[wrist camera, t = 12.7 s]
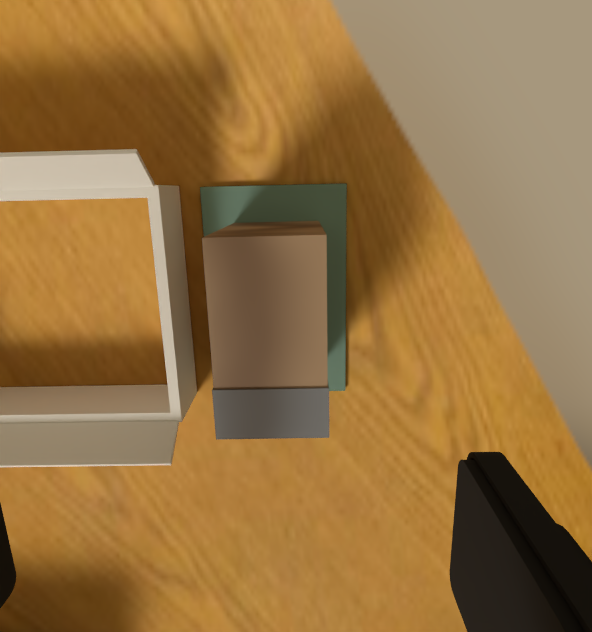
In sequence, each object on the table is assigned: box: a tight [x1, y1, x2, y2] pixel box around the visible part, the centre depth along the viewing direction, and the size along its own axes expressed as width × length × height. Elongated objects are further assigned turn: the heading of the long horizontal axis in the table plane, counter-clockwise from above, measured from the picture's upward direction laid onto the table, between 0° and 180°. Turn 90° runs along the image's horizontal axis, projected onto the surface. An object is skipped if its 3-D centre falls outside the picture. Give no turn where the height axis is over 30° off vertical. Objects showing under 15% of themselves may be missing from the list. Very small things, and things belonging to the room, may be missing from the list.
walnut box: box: [202, 221, 329, 439], centre depth 24 cm, size 5×9×9 cm, turn 1°
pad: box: [200, 183, 347, 391], centre depth 28 cm, size 8×13×1 cm, turn 1°
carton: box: [0, 149, 197, 467], centre depth 26 cm, size 15×16×6 cm
